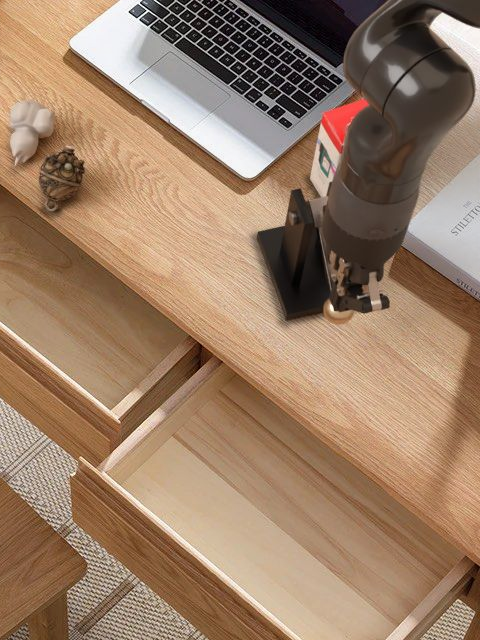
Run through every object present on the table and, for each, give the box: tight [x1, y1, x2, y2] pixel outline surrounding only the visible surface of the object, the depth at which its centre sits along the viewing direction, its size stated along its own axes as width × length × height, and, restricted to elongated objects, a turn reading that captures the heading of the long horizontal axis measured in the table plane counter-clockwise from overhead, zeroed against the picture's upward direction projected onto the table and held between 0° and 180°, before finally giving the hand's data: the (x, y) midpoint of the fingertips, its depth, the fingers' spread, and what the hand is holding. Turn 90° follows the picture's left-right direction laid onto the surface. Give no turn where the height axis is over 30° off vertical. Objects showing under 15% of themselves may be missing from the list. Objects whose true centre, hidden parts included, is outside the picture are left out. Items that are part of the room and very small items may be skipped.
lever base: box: [256, 182, 332, 321], centre depth 130 cm, size 11×8×13 cm
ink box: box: [309, 98, 369, 198], centre depth 134 cm, size 8×5×15 cm, turn 111°
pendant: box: [38, 145, 86, 213], centre depth 140 cm, size 5×8×5 cm
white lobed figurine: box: [9, 99, 55, 167], centre depth 143 cm, size 5×7×8 cm
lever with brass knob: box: [305, 196, 356, 326], centre depth 126 cm, size 13×3×3 cm
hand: (341, 303), depth 125 cm, fingers closed
